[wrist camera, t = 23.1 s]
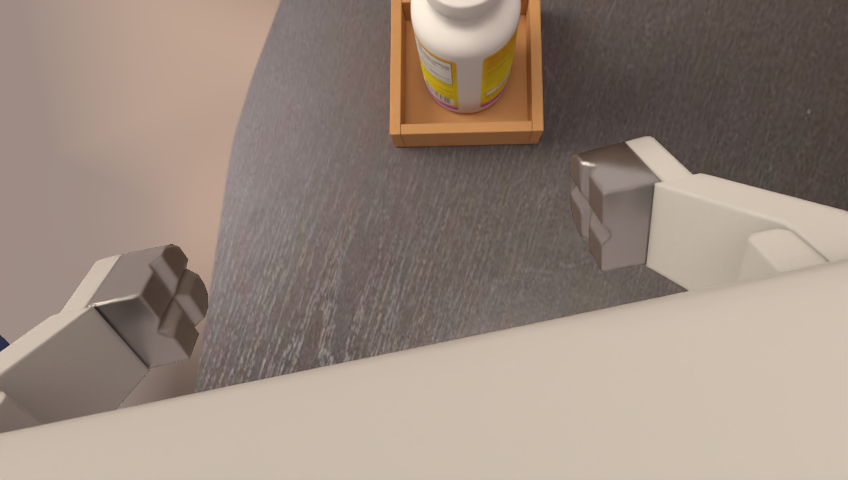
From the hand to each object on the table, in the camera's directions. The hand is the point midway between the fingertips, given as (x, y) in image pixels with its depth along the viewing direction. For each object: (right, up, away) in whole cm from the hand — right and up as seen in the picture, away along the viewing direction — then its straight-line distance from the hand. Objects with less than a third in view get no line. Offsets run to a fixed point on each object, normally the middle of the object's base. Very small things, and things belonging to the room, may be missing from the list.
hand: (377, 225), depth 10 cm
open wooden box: (+4, +13, +29) cm, 32 cm away
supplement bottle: (+4, +13, +29) cm, 32 cm away
